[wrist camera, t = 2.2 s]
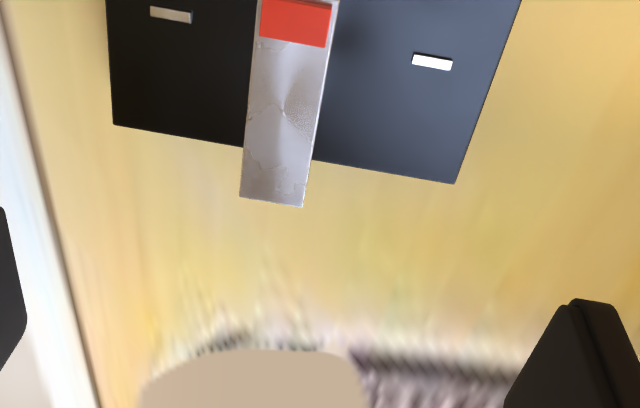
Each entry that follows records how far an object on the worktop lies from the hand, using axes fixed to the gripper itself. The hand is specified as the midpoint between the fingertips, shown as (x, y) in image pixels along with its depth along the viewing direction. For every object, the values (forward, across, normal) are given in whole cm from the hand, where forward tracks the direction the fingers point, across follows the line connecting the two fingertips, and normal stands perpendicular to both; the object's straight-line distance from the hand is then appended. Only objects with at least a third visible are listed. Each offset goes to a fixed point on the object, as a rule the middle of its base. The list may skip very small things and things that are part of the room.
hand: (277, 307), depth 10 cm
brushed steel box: (+13, +1, 0) cm, 13 cm away
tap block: (+16, +1, 0) cm, 16 cm away
